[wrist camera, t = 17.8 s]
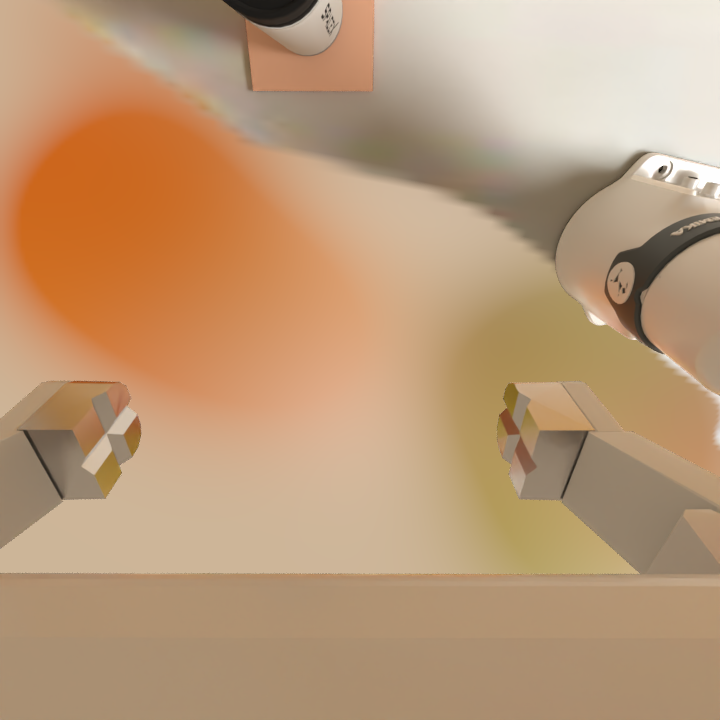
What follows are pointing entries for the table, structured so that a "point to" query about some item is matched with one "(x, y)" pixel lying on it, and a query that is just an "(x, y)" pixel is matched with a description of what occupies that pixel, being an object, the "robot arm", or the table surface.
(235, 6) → the travel mug
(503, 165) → the table surface
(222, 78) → the table surface
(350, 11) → the terracotta tile
